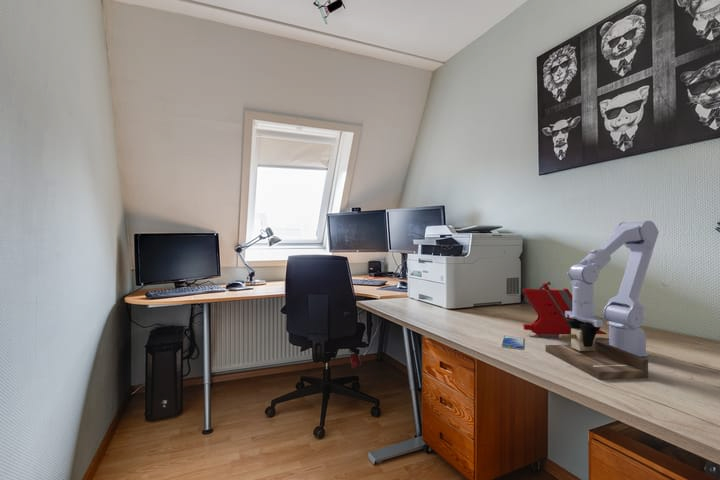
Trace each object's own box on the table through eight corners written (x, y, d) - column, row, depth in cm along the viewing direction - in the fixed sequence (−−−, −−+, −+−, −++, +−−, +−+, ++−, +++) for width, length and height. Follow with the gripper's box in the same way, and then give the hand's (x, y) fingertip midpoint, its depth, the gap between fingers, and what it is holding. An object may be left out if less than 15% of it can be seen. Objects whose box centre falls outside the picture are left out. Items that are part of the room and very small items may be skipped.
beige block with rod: (585, 346, 114) (585, 328, 114) (594, 350, 110) (594, 331, 110) (556, 347, 114) (556, 328, 114) (564, 351, 110) (564, 332, 110)
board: (585, 350, 119) (585, 335, 119) (648, 378, 95) (648, 359, 95) (545, 351, 118) (545, 336, 118) (599, 379, 94) (599, 360, 94)
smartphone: (524, 337, 133) (523, 349, 119) (524, 340, 133) (523, 351, 119) (503, 335, 136) (501, 345, 122) (503, 337, 136) (500, 348, 122)
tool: (600, 331, 138) (567, 268, 140) (609, 334, 132) (574, 268, 134) (536, 358, 140) (505, 295, 142) (543, 362, 134) (510, 297, 136)
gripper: (556, 298, 119) (556, 338, 119) (587, 306, 105) (587, 351, 105) (576, 297, 120) (576, 337, 120) (609, 306, 105) (609, 351, 105)
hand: (582, 344), depth 112 cm, fingers closed on beige block with rod, 4 cm apart
